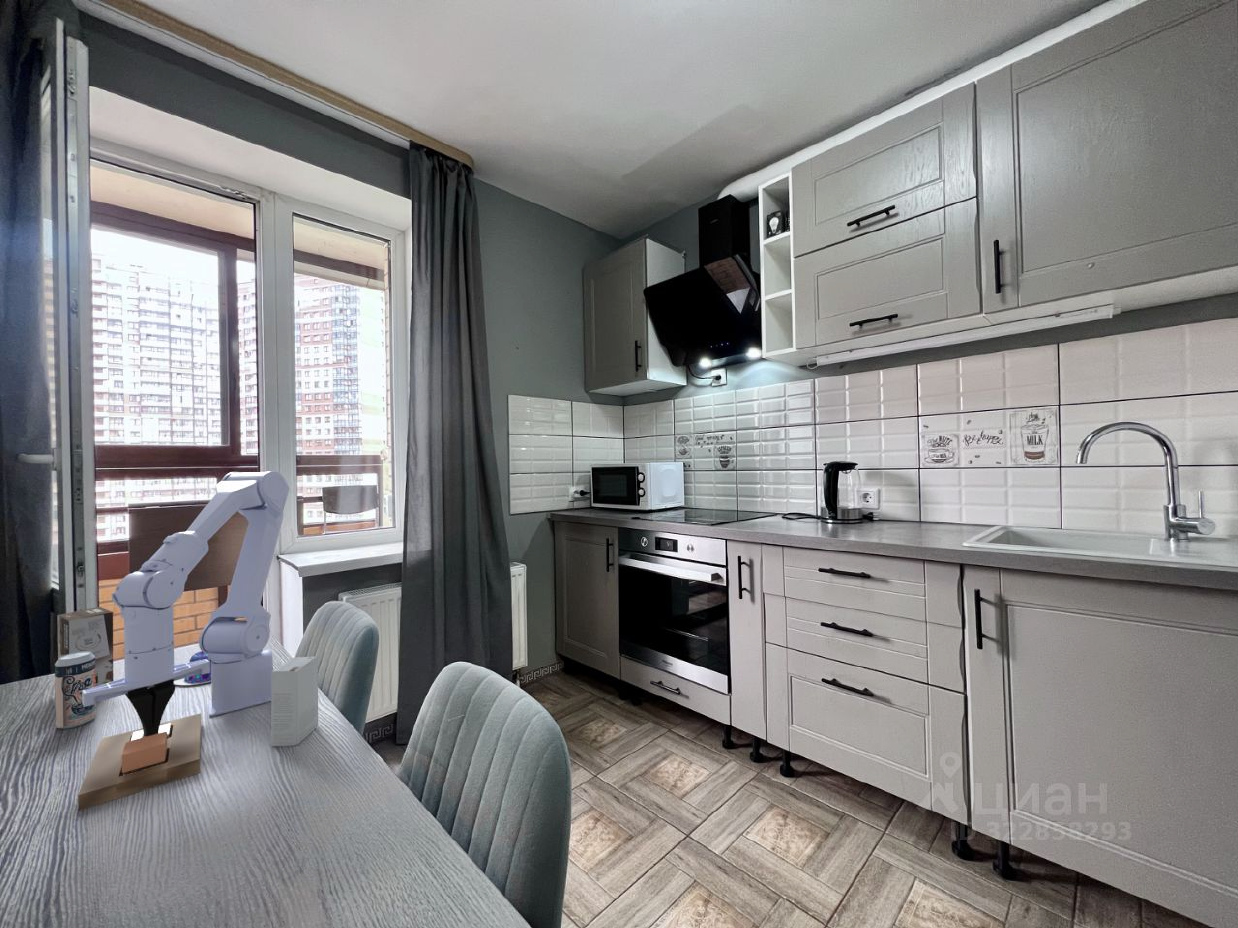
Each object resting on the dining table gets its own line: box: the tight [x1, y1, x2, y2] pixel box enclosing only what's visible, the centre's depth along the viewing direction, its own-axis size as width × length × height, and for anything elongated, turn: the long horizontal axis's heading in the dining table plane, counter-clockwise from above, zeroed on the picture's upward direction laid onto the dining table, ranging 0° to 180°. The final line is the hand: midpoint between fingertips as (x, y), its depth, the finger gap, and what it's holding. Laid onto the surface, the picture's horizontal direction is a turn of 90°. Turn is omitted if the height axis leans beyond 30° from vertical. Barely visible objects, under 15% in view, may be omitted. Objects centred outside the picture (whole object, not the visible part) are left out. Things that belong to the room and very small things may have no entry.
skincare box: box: [270, 656, 319, 747], centre depth 81 cm, size 6×4×12 cm
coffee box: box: [56, 606, 114, 687], centre depth 99 cm, size 9×6×16 cm
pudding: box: [174, 650, 211, 686], centre depth 107 cm, size 12×12×5 cm
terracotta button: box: [122, 731, 167, 773], centre depth 71 cm, size 4×4×2 cm
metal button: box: [131, 723, 171, 741], centre depth 78 cm, size 4×4×2 cm
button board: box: [77, 712, 202, 812], centre depth 75 cm, size 12×18×2 cm, turn 40°
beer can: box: [54, 651, 97, 730], centre depth 87 cm, size 5×5×12 cm
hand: (151, 733), depth 78 cm, fingers closed, pressing on metal button
